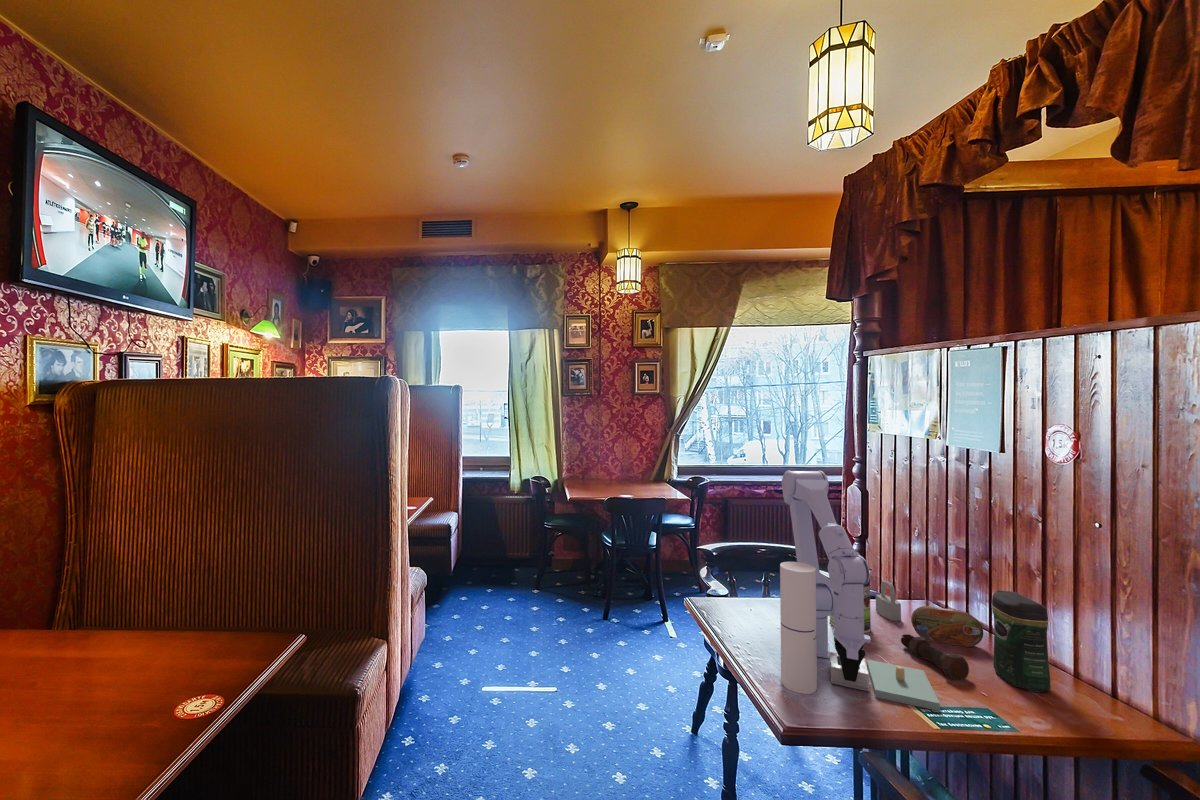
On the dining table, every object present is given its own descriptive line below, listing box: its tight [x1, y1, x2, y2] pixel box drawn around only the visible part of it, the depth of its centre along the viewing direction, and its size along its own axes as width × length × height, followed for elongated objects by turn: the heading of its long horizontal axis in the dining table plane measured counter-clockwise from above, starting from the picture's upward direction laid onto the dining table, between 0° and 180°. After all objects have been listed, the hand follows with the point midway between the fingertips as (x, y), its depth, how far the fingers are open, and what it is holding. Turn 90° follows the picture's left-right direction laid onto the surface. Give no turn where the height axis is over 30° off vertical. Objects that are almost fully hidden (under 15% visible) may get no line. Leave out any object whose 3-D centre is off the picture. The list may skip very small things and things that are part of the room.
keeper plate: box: [866, 659, 941, 712], centre depth 98 cm, size 11×13×4 cm
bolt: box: [900, 634, 970, 682], centre depth 108 cm, size 6×5×15 cm
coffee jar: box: [991, 590, 1051, 693], centre depth 101 cm, size 10×8×19 cm
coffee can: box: [828, 575, 872, 634], centre depth 127 cm, size 10×10×14 cm
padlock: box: [875, 580, 902, 622], centre depth 134 cm, size 7×4×10 cm, turn 2°
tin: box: [910, 605, 984, 648], centre depth 118 cm, size 15×3×8 cm, turn 68°
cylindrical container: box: [779, 561, 818, 695], centre depth 99 cm, size 7×7×25 cm
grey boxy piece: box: [828, 651, 870, 692], centre depth 100 cm, size 7×7×4 cm
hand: (849, 677), depth 97 cm, fingers closed on grey boxy piece
